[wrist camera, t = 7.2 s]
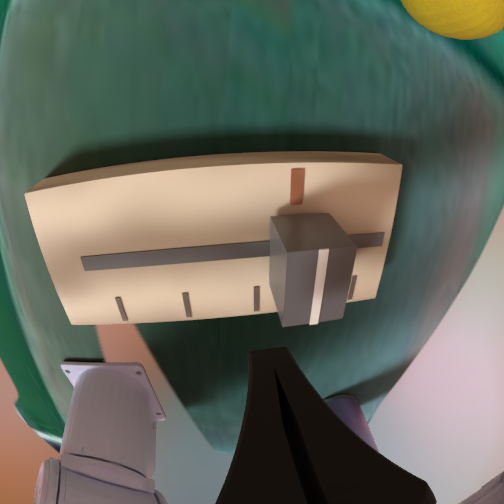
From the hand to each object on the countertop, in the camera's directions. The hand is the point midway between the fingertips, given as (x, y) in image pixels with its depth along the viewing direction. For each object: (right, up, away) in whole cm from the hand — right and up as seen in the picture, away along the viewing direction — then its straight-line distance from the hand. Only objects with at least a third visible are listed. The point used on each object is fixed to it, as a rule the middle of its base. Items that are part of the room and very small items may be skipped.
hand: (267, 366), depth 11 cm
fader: (+2, +4, +5) cm, 7 cm away
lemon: (+9, +19, +1) cm, 21 cm away
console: (-3, +5, +7) cm, 9 cm away
